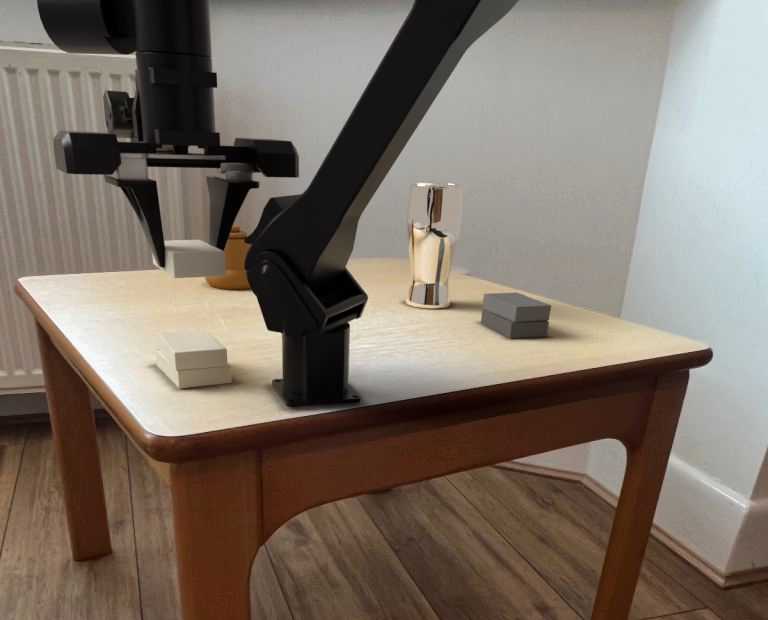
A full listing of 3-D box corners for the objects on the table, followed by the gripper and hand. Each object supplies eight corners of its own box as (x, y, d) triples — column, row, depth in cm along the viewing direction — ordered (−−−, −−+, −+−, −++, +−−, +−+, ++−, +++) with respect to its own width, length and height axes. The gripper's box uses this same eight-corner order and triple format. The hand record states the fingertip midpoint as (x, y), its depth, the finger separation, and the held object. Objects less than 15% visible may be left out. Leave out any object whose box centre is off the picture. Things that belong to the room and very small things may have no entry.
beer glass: (393, 304, 100) (400, 182, 93) (415, 296, 106) (423, 181, 99) (440, 312, 97) (451, 187, 90) (460, 303, 103) (472, 185, 96)
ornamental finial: (267, 283, 108) (243, 292, 102) (221, 278, 110) (195, 286, 104) (266, 225, 105) (241, 230, 98) (218, 220, 107) (191, 225, 100)
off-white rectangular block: (226, 276, 63) (225, 251, 62) (174, 278, 61) (172, 253, 60) (201, 262, 69) (199, 239, 68) (153, 264, 67) (150, 240, 66)
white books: (232, 383, 67) (231, 348, 66) (178, 389, 65) (175, 353, 63) (206, 360, 73) (204, 328, 71) (155, 365, 70) (152, 332, 69)
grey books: (548, 336, 88) (553, 306, 87) (509, 338, 87) (513, 307, 85) (516, 321, 95) (520, 292, 93) (479, 322, 93) (482, 293, 92)
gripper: (251, 69, 68) (257, 248, 75) (29, 50, 59) (59, 254, 67) (301, 64, 59) (302, 267, 67) (50, 42, 51) (82, 277, 58)
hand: (189, 265), depth 65 cm, fingers closed on off-white rectangular block, 4 cm apart
